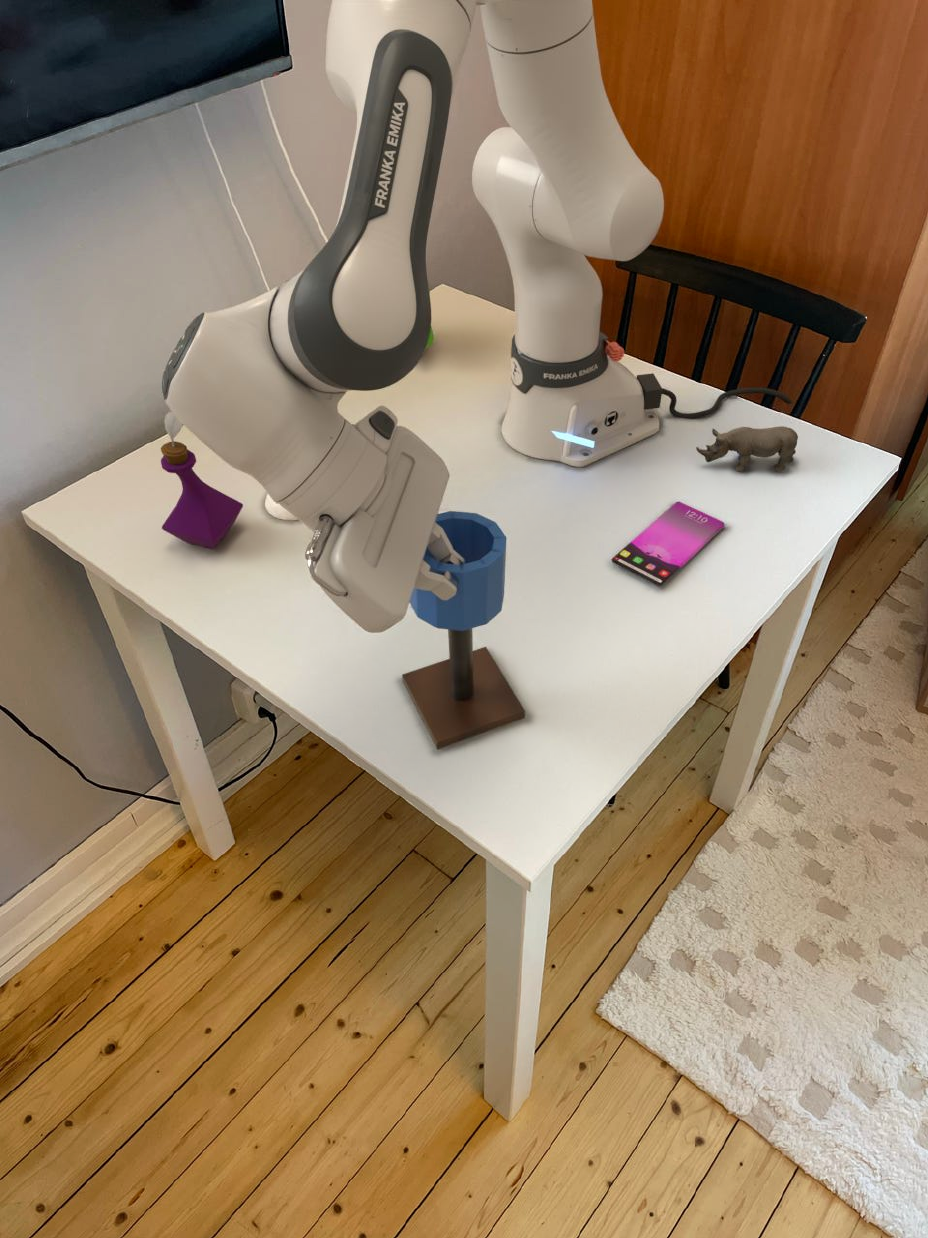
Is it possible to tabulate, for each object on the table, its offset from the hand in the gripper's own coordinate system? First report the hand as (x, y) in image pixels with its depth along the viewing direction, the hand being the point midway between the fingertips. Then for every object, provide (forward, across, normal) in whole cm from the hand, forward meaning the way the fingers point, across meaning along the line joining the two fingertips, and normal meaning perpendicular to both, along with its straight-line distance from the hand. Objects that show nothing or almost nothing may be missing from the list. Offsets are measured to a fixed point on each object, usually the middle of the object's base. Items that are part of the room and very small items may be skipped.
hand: (455, 581), depth 85 cm
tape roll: (+4, +3, +4) cm, 7 cm away
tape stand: (+15, +4, +15) cm, 22 cm away
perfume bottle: (-11, +25, +42) cm, 50 cm away
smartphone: (+29, +32, +1) cm, 43 cm away
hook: (-5, +33, +36) cm, 49 cm away
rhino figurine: (+36, +51, -6) cm, 62 cm away
